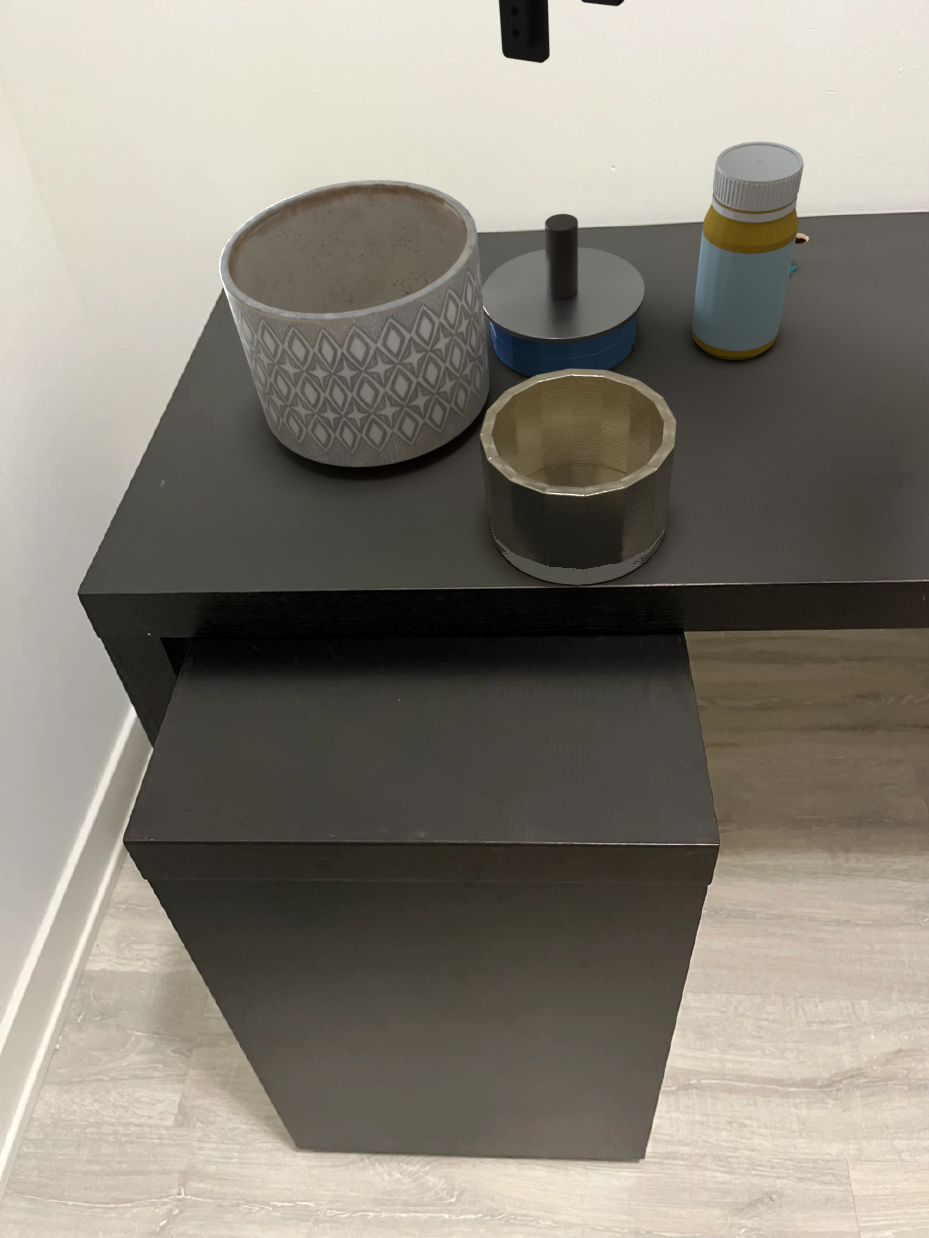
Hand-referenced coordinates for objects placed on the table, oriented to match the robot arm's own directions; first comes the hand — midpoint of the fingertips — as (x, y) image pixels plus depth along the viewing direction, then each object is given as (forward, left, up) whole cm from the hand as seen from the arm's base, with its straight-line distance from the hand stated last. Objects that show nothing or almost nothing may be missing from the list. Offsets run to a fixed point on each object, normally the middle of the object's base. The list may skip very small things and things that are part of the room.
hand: (565, 30), depth 62 cm
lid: (+2, -2, -21) cm, 21 cm away
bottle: (-12, -8, -25) cm, 29 cm away
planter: (+10, +13, -25) cm, 30 cm away
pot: (-11, +17, -25) cm, 32 cm away
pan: (+1, -2, -25) cm, 25 cm away
